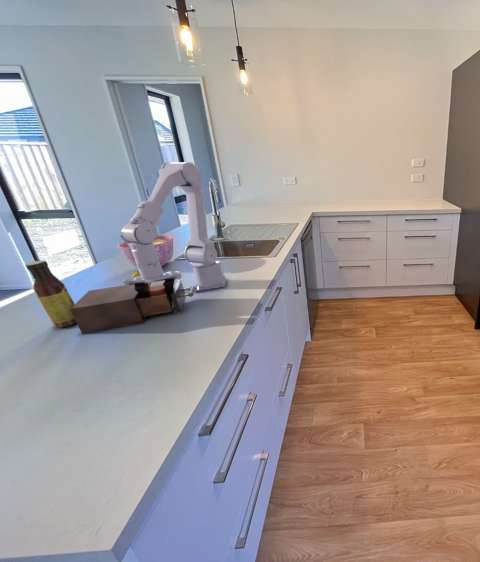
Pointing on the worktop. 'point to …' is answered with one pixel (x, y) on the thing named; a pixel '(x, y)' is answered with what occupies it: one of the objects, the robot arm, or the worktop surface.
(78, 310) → the cabinet
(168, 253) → the bowl of food
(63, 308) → the sauce bottle
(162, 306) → the drawer
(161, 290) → the orange block
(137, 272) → the lemon
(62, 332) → the worktop surface
